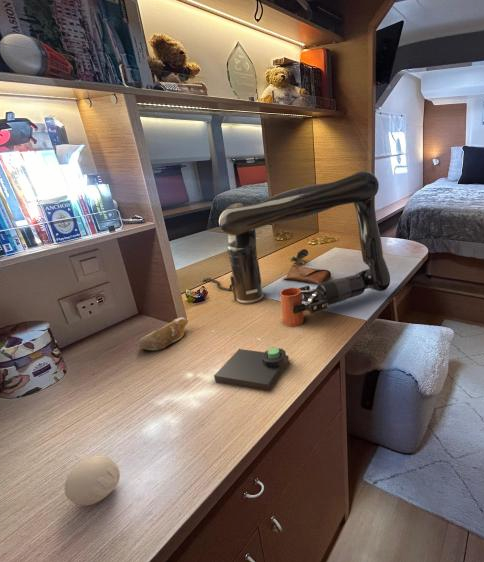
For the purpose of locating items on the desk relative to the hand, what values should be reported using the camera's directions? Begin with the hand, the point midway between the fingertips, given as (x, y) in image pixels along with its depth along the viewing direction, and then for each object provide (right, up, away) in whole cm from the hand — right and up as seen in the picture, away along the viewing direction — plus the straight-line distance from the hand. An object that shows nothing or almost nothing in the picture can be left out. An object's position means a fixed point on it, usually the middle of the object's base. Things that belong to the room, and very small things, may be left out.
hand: (287, 304), depth 102 cm
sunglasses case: (+2, +8, +33) cm, 34 cm away
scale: (-5, -15, -19) cm, 25 cm away
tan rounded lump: (-23, -28, -46) cm, 59 cm away
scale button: (0, -11, -19) cm, 22 cm away
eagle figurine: (-2, +14, +49) cm, 51 cm away
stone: (-34, -10, -4) cm, 36 cm away
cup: (+2, -5, +3) cm, 6 cm away
